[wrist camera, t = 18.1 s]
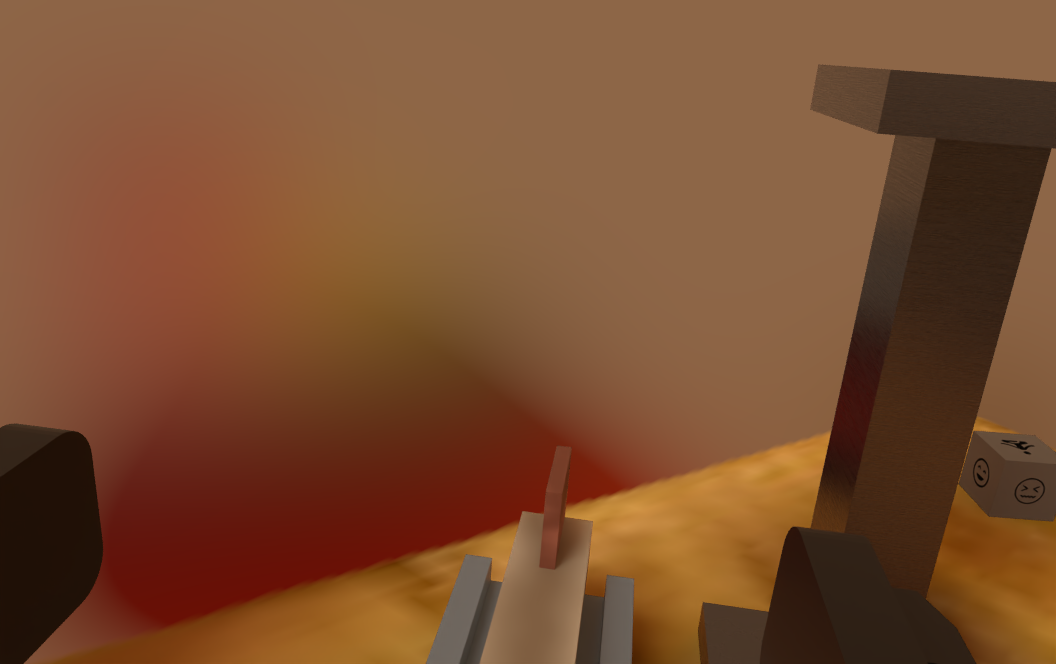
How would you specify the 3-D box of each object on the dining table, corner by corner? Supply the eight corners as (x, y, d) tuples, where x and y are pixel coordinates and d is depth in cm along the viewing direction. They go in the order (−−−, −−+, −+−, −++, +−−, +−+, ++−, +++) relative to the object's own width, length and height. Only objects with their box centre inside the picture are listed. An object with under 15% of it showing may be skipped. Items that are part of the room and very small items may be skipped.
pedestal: (713, 814, 37) (860, 67, 26) (697, 630, 48) (795, 62, 38) (993, 863, 35) (1268, 98, 25) (908, 662, 47) (1070, 83, 37)
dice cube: (1018, 489, 68) (1035, 435, 67) (1052, 522, 64) (1071, 465, 62) (958, 484, 68) (973, 430, 67) (988, 517, 64) (1005, 460, 62)
